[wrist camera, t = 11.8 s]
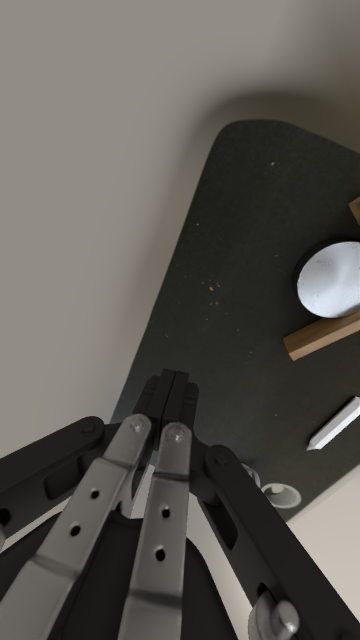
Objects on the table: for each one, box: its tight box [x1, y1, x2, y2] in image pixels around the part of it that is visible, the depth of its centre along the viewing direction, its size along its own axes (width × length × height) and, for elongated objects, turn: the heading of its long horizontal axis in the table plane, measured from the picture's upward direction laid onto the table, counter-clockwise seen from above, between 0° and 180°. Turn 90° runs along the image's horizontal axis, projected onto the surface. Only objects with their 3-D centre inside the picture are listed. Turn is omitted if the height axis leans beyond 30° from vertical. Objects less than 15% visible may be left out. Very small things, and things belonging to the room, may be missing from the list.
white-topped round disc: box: [293, 239, 360, 318], centre depth 35 cm, size 11×11×3 cm
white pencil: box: [307, 397, 360, 450], centre depth 47 cm, size 3×2×16 cm
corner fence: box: [283, 197, 360, 360], centre depth 35 cm, size 15×18×5 cm
